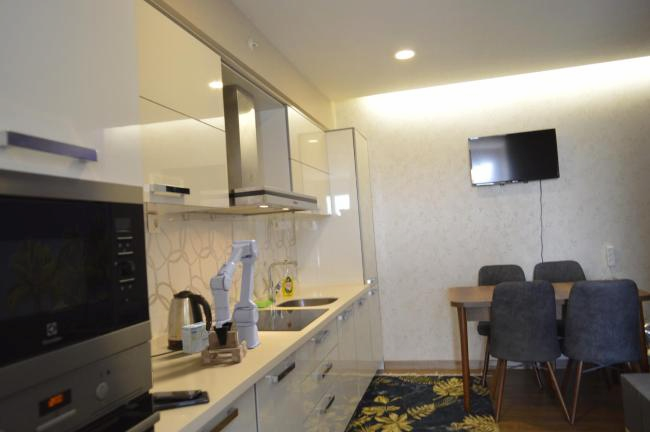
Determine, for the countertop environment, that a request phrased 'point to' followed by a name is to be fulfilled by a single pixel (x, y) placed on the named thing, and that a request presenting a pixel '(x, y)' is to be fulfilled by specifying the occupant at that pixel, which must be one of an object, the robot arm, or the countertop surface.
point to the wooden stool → (224, 355)
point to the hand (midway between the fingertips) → (224, 343)
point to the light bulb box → (195, 337)
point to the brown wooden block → (230, 344)
